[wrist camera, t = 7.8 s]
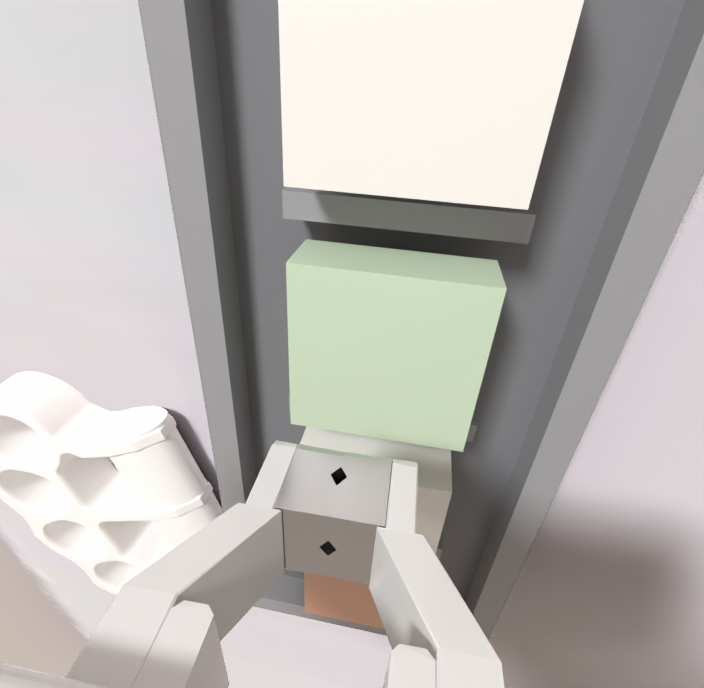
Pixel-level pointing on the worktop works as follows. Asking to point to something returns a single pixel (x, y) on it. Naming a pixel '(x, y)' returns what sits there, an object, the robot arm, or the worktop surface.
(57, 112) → the worktop surface
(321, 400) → the key sage
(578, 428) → the grey divided tray
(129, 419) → the knuckle duster
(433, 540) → the off-white square tile
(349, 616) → the block
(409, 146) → the key cream end
